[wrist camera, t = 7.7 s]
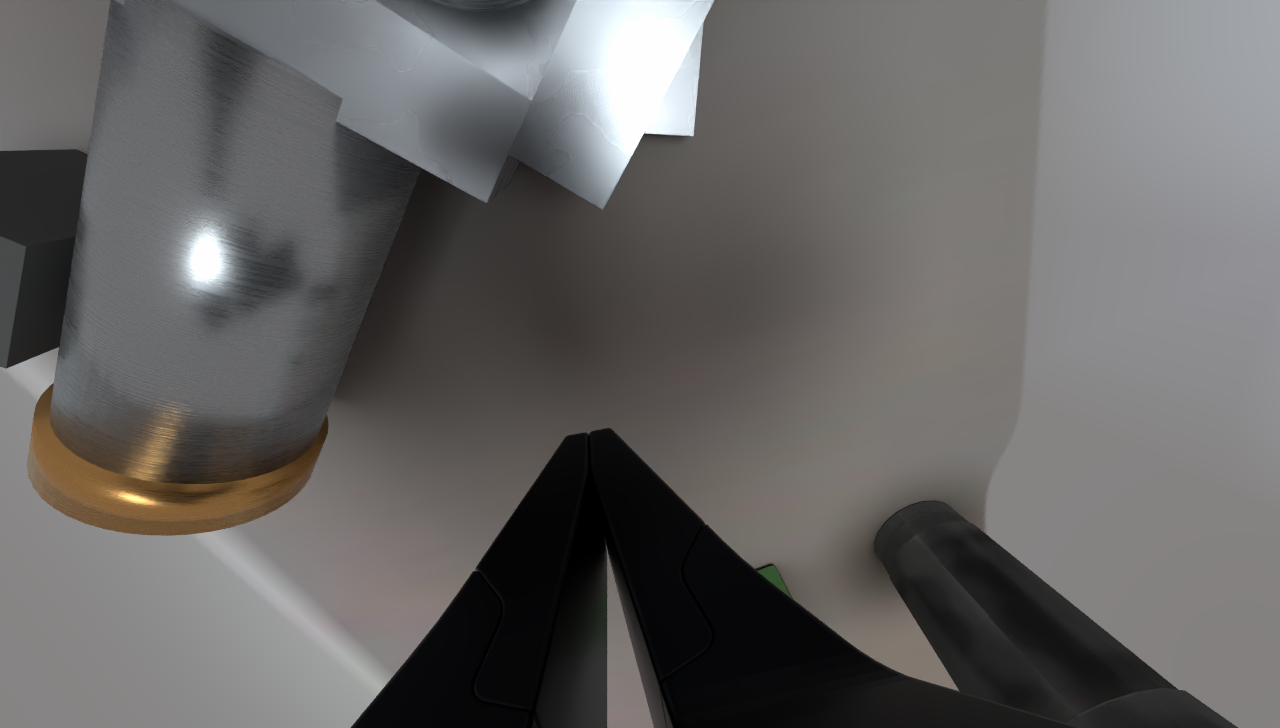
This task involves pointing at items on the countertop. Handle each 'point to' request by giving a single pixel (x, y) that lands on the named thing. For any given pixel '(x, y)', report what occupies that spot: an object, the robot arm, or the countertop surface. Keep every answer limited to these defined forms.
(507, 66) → the duct stub
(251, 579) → the countertop surface
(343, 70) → the flanged pipe fitting
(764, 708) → the robot arm
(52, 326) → the block
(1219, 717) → the beverage cup
